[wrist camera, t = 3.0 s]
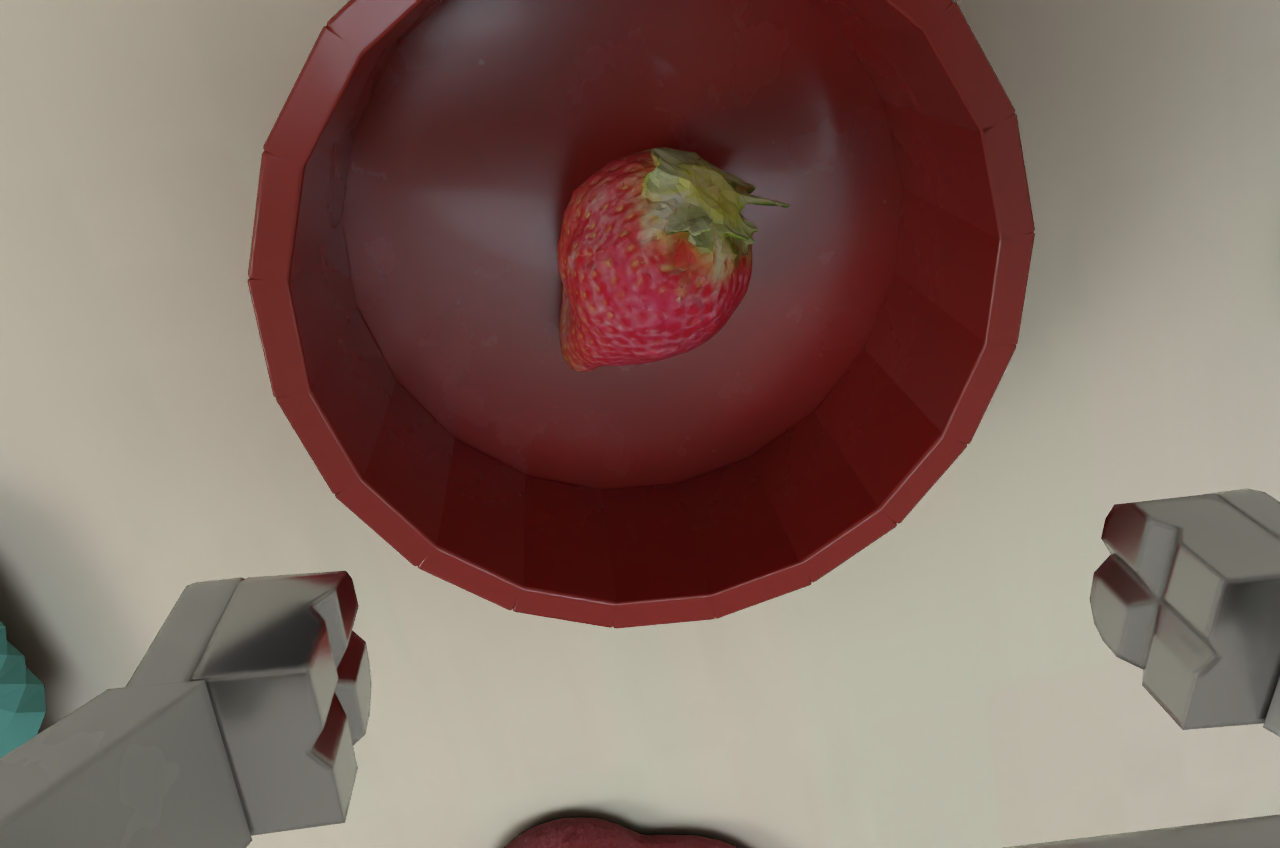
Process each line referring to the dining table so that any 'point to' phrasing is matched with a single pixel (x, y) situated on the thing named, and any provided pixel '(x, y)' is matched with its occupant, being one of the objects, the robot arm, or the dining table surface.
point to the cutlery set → (18, 698)
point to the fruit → (652, 258)
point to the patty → (603, 836)
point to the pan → (657, 391)
